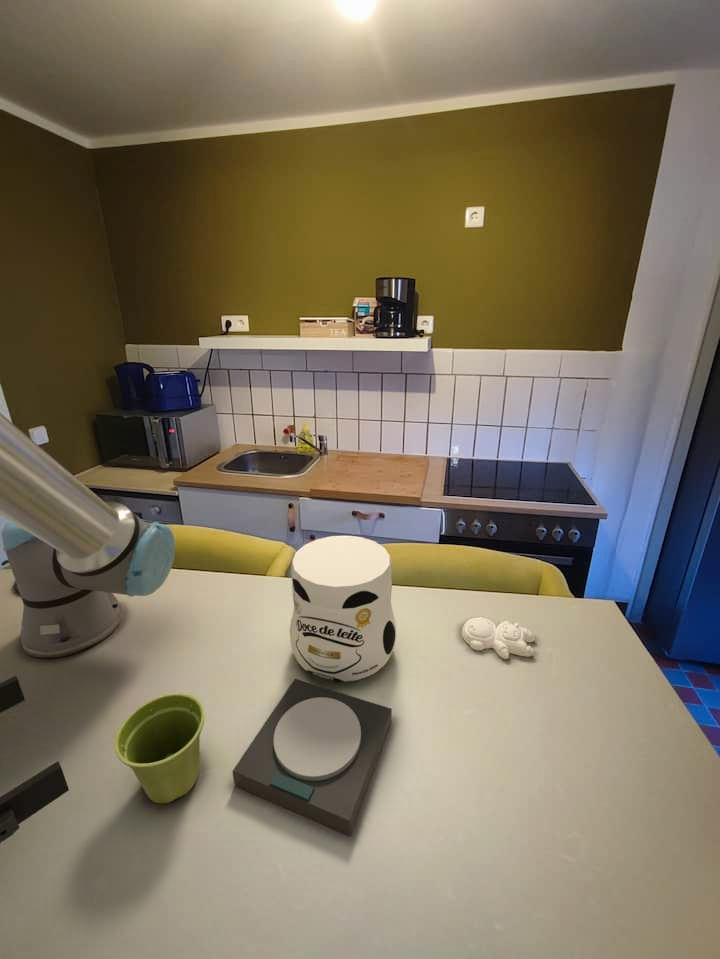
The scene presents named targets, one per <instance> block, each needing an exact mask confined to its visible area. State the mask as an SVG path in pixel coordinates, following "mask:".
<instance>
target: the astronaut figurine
mask: <svg viewBox="0 0 720 959" xmlns="http://www.w3.org/2000/svg"><path fill="white" fill-rule="evenodd" d="M461 635H462V639H464V641H465V642H466V643H467V644H468V645H469V646H470V648H471V649H472V650H474V651H483V650H484V649H485V650H487V649H493V650H494V651H495V652H496V654H497V655H498V657H500V658H502V659H503V660H508V659H509V657H510V654H512V655H516V656H520V657H526V658H529V657H531V656H532V657H533V655H534V653H535V650H534V649H533V648H532V646H531V645H528V643H533V642H534V641H535V640H536V634H535V633H533V631H531V630H529V629H528V628H526V627H522V626H519V623H518V622H515V623H514V624H513V623H511V622H510V621H508V620H504V621H501V622H500V623H499V624H498V625H497V626H496V624H495V623H494V622H493V621H492V620H491V619H488V618H486V617H484V616H478V617H473V618H470V619H468V620H467V621H465V623H464V624H463V626H462V630H461Z"/></svg>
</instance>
